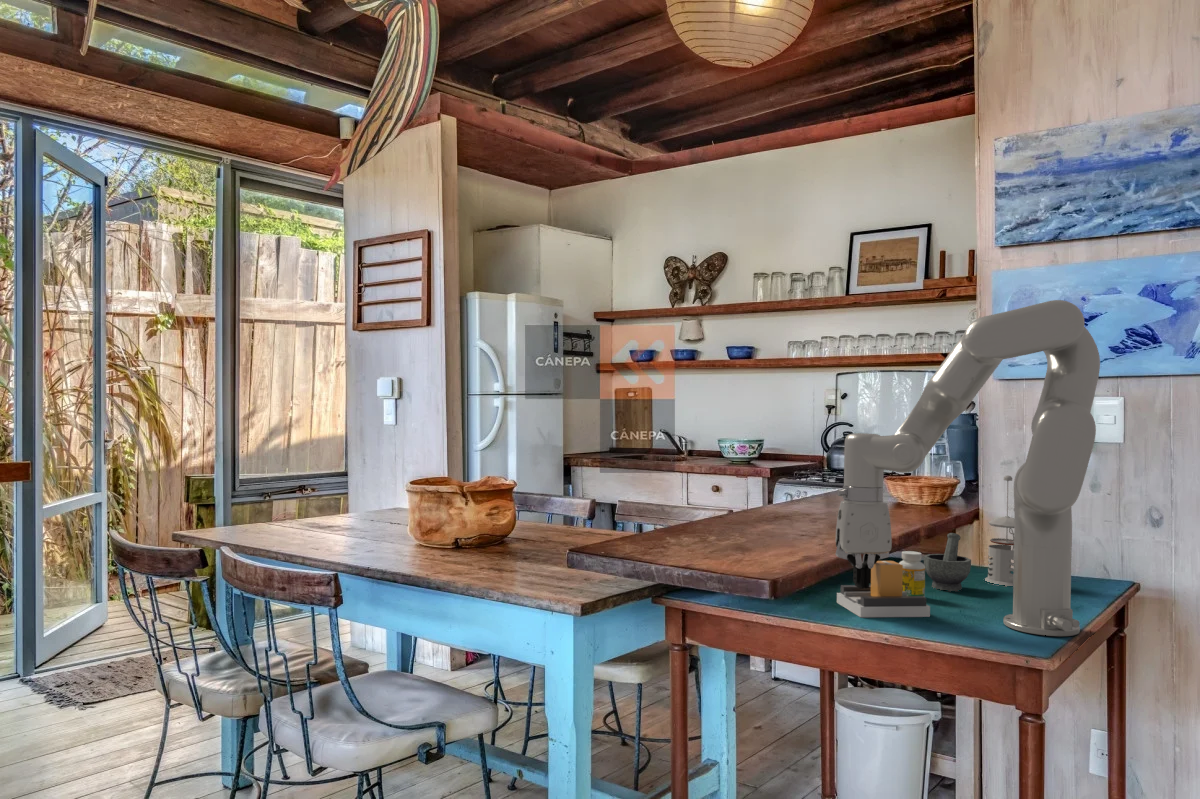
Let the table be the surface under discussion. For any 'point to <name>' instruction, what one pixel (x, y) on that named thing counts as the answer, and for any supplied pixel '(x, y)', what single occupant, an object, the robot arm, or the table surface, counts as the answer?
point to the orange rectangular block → (886, 579)
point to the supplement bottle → (913, 573)
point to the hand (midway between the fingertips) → (861, 587)
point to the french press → (1001, 551)
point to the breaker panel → (882, 609)
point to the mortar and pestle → (948, 566)
